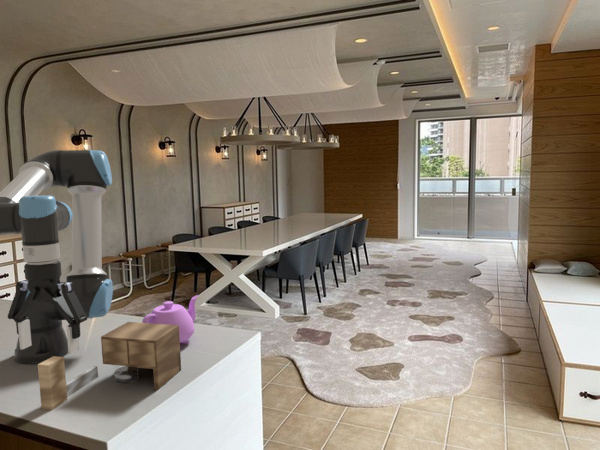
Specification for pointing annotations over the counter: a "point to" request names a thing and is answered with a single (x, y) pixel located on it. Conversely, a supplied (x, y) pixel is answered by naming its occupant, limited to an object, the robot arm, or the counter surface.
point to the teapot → (175, 318)
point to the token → (126, 374)
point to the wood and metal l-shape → (59, 382)
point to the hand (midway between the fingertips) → (49, 349)
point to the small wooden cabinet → (144, 349)
